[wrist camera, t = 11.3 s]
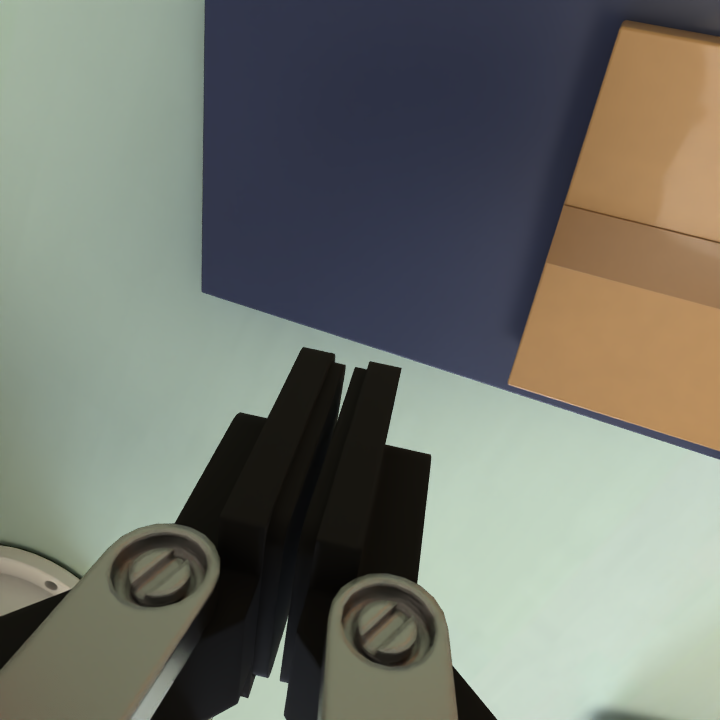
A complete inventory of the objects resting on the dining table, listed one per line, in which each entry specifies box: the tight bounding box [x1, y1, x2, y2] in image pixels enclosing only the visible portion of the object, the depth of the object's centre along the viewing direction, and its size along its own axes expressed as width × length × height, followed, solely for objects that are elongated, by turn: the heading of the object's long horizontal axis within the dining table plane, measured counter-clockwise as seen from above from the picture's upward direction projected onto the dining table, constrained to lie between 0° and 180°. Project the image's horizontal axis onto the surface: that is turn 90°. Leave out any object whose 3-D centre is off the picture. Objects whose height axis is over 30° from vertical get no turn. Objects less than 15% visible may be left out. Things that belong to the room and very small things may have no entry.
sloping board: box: [202, 0, 720, 459], centre depth 22 cm, size 22×16×6 cm
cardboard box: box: [508, 20, 720, 451], centre depth 19 cm, size 8×11×3 cm
